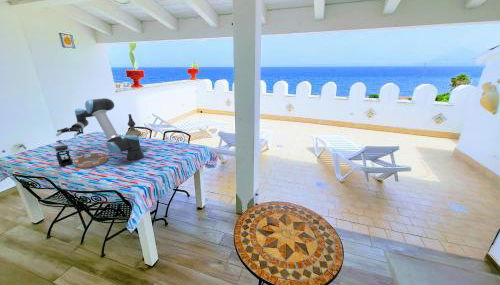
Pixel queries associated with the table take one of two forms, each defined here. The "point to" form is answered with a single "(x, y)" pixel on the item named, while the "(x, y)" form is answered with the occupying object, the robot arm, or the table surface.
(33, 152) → the table surface
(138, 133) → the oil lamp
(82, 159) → the castellated ring
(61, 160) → the french press
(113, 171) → the table surface
